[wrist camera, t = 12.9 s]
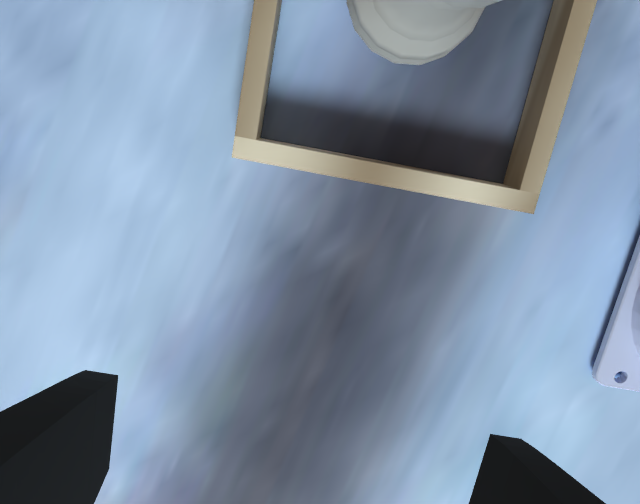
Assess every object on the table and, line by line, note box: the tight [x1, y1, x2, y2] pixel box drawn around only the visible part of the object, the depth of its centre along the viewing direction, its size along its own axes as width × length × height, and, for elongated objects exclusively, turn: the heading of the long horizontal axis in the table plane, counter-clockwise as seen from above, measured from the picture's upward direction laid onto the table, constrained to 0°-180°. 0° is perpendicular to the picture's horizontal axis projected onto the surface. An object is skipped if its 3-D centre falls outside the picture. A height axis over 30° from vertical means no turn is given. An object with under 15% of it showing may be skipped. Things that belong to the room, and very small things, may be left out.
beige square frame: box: [232, 0, 597, 214], centre depth 17 cm, size 10×10×2 cm
